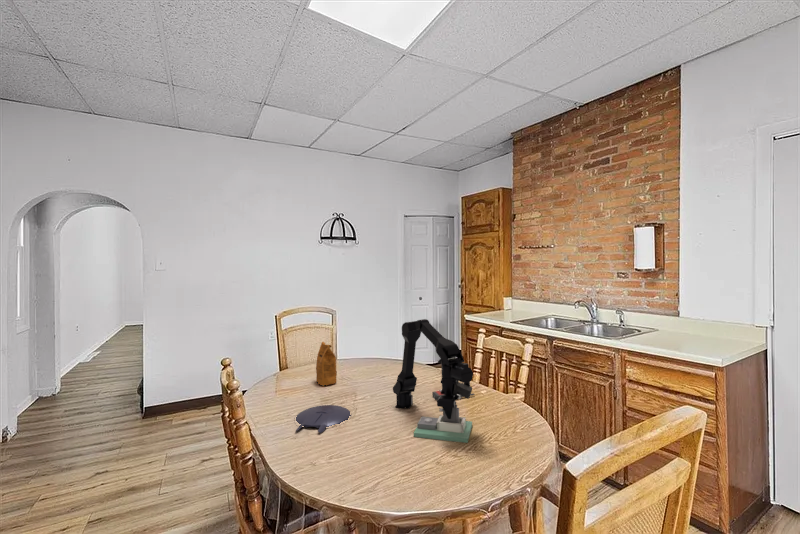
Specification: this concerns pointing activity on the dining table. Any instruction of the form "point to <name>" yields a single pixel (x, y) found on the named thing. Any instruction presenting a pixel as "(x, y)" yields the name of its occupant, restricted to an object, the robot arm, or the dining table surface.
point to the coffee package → (326, 366)
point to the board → (443, 429)
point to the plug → (453, 417)
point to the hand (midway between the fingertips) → (450, 417)
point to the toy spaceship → (322, 416)
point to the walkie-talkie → (438, 393)
